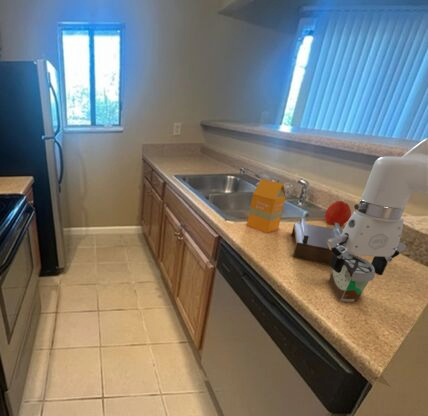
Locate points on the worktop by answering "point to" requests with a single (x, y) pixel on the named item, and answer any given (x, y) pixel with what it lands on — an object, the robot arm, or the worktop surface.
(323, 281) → the worktop surface
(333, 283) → the food container
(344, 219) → the apple
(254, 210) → the orange juice
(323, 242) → the dark wooden tray
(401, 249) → the robot arm
